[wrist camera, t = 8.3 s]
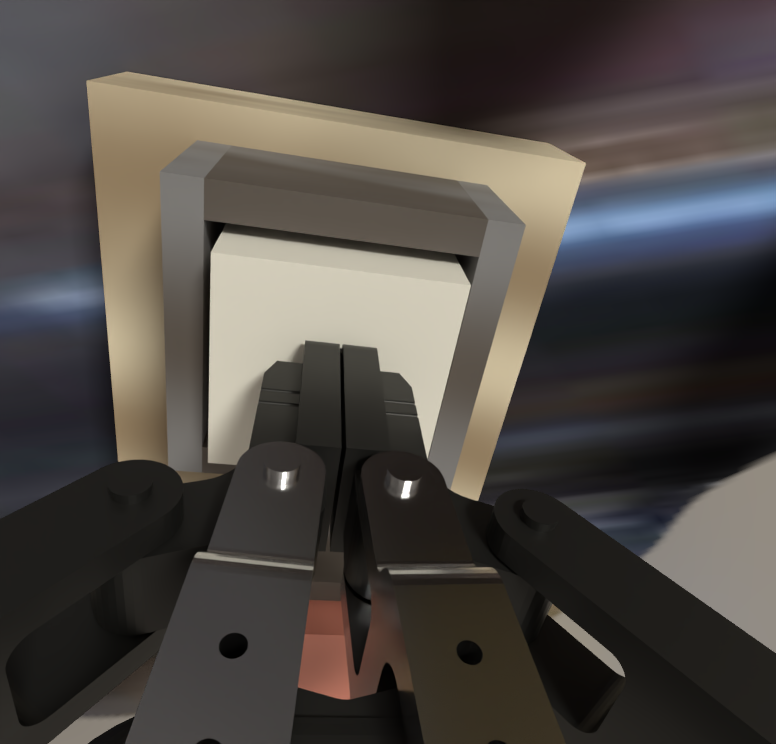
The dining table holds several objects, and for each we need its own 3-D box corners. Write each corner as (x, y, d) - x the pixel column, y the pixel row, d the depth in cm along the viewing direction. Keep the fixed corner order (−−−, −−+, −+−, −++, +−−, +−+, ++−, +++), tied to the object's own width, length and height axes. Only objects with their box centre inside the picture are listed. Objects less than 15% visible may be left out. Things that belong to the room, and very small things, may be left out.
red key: (219, 645, 21) (204, 730, 19) (223, 547, 19) (205, 631, 16) (355, 649, 22) (358, 731, 19) (376, 556, 20) (382, 636, 17)
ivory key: (227, 391, 16) (207, 463, 13) (234, 208, 13) (211, 252, 11) (408, 408, 17) (422, 478, 14) (445, 238, 14) (470, 285, 12)
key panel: (421, 590, 27) (443, 735, 22) (153, 579, 25) (103, 734, 20) (548, 143, 17) (649, 198, 12) (127, 71, 16) (12, 96, 10)
